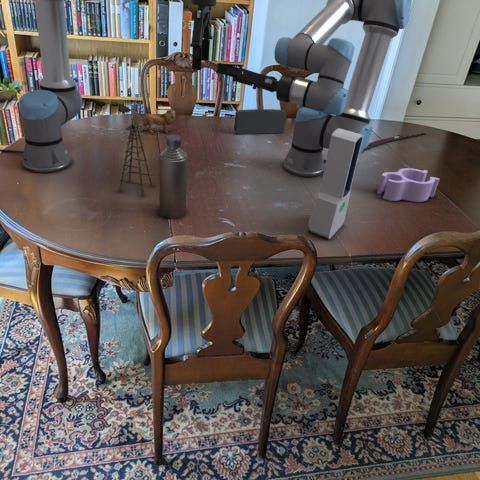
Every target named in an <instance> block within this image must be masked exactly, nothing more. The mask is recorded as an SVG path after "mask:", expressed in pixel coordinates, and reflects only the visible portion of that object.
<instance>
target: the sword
mask: <svg viewBox="0 0 480 480" xmlns="http://www.w3.org/2000/svg"><path fill="white" fill-rule="evenodd" d="M401 135H402V136H401ZM401 135H400V134H397V135H395V136H392V137H387V138H382V139H378V140H375V141H372V142H370V143H368V147H369V146H372V145H375V144H378V143H381V142H384V141H388V140H391V139H395V138H400V137H404V136H403V135H404V134H401ZM408 136H409V135H408Z"/></svg>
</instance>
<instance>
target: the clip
mask: <svg viewBox="0 0 480 480" xmlns="http://www.w3.org/2000/svg"><path fill="white" fill-rule="evenodd" d="M428 172H429V170H428V169H423V170H421V169H418V168H413V167H411V168H410V167H405V168H404V167H403V168H400V169H398V170H397V171H394V172H393V171H385V172H383V173H382V174H381V178H380V180H379V184H378V187H377V192H376V193H377V194H378V195H382V193H383V197H382V199H383V200H386V201H391V202H398V201H400V200H403V201H404V200H405V201H409V202H415V203H422V202H426V201H428V200H429V198H434V196H435V194H436V190H437V188H438V185H439V183H440V178H439V177H436V176H435V177H434V176H430V177H429V179H428V180H427V181H425V180H426V178H427V175H428Z"/></svg>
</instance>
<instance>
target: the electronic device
mask: <svg viewBox="0 0 480 480" xmlns="http://www.w3.org/2000/svg"><path fill="white" fill-rule="evenodd" d="M363 137H364V135H361V134H358V133H354V132H350V131H347V130H343V129H340V128H339V129H337V130H335V131H334V132H333V134H332V135H331V140H330V145H329V149H327V155H326V159H325V160H326V162H325V163H324V171H323V173H322V174H323V175H322V179H321V184H320V188H319V192H318V195H317V198H316V200H315V203H314V205H313V208H312V211H311V214H310V216H309V218H308V219H309V220H308V222H307V225H308V229H309V231H310V232H311V233H313V234H314V235H318V236H321V237H322V238H325V239H328V240H330V239H331V238H332V237H333V236H334V235H335V234H336V233H337V232H338V231H339V229H341V228H342V226H343V225H344V222H345V220H346V216H347V210H348V206H349V202H350V197H351V193H352V191H351V189H352V186H353V185H352V184H353V181H354V177H355V172H356V168H357V165H358V161H359V157H360V154H361V153H360V149H361V145H362V141H363ZM359 153H360V154H359Z"/></svg>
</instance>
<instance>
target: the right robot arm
mask: <svg viewBox="0 0 480 480" xmlns="http://www.w3.org/2000/svg"><path fill="white" fill-rule="evenodd" d="M411 8H412V0H327V1H326V4H325V6H324V7H323V8H322V9H321V10H320V11H319V12H318V13H317V14H316V15H314V17H313V18H312V19H311V20H310V21H309V22H308V23H307V24H306V25H305V26H303V28H302V29H300V31H299V32H298V33H296V34H295V35H294V36H293V37H292V38H291V37H289V36H288V37H287V36H282V37H280V38H279V39H278V40H277V41H276V44H275V47H274V61H275V63H276V64H278V65H280V66H285V67H286V68H292V69H297V70H303V71H306V72H313V73H315V74H318V75H317V79H316V81H314V80H312V79H308V78H304V77H300V76H297V77H296V75H292V74H288V73H283V74H282V75H281V76H280V79H279V80H278V78H276V77H275V76H272V75H267V74H262V73H259V72H256V71H252V70H249V69H246V68H244V67H243V65H239V67H237V66H234V65H229V64H226V63H221V62H218V65H217V69H216V73H217V74H220V75H224V76H227V77H231V78H232V82H234V83H239V84H242V85H245V86H246V85H247V86H250V87H252V89H253V90H257V89H259V90H260V89H261V90H265V91H268V92H270V93H275V92H276V93H275V97H276V100H277V101H279V102H283V103H290V104H292V105H295V106H296V108H297V109H298V110H297V112H296V116H295V119H294V126H293V132H292V140H291V145H290V148H289V150H288V152H287V154H286V156H285V158H284V159H283V164H282V165H283V169H284V170H285V171H286V172H288V173H290V174H292V175H295V176H298V177H304V178H315V177H319V176H321V175H322V174H324V169H325V163H326V159H324V154H323V151H324V149H326V150H328V149H329V145H330V140H331V135H332V134H333V132H334V131H335V130H337V129H339V128H340V129H343V130H347V131H350V132H354V133H358V134H361V135H364V137H363V141H362V145H361V149H360V153H359V155H360V154H361V153H362V152H364V151H367V150H370V149H372V148H375V147H378V146H381V145H384V144H388V143H391V142H395V141H399V140H403V139H404V140H405V139H408V138H413V137H418V136H423V135H427V132H426V133H424V132H420V133H421V134H419V133H415V134H416V135H414V134H412V135H411V136H406V137H400V138H395V139H391V140H387V141H383V142H379V143H376V144H373V145H370V146H369V145H368V144H369V140H370V138H371V136H372V132H373V125H372V124H371V123H370V121H371V117H370V116H369V109H370V106H371V104H372V100H373V98H374V95H375V92H376V88H377V85H378V81H379V79H380V77H381V76H380V75H381V72H382V69H383V65H384V63H385V60H386V57H387V54H388V50H389V48H390V44H391V41H392V39H395V37H398V35H399V31H400V30H404V29H405V28H406V27H407V24H408V23H409V18H410V15H411ZM350 21H355V22H361V23H362V29H363V31H364V37H363V39H362V42H361V46H360V50H359V53H358V57H357V60H356V62H355V63H356V64H355V67H354V68H353V69H354V70H353V73H352V76H351V80H350V82H349V85H348V89H346V88H344V86H345V81H346V79H347V76H348V73H349V70H350V68H351V64H352V62H353V57H354V54H355V53H354V52H355V49H356V48H355V45H354V44H353V43H352V42H350V40H346V39H343V38H339V37H332V35H333V34H334V33H335V32H337V30H338V29H339V28H340V27H341V26H342V25H345V24H347V23H349V22H350ZM330 37H332V38H330ZM329 38H330V39H329ZM328 39H329V40H328ZM327 41H328V43H327V45H326V44H325V43H326V42H327ZM367 145H368V146H367Z"/></svg>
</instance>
